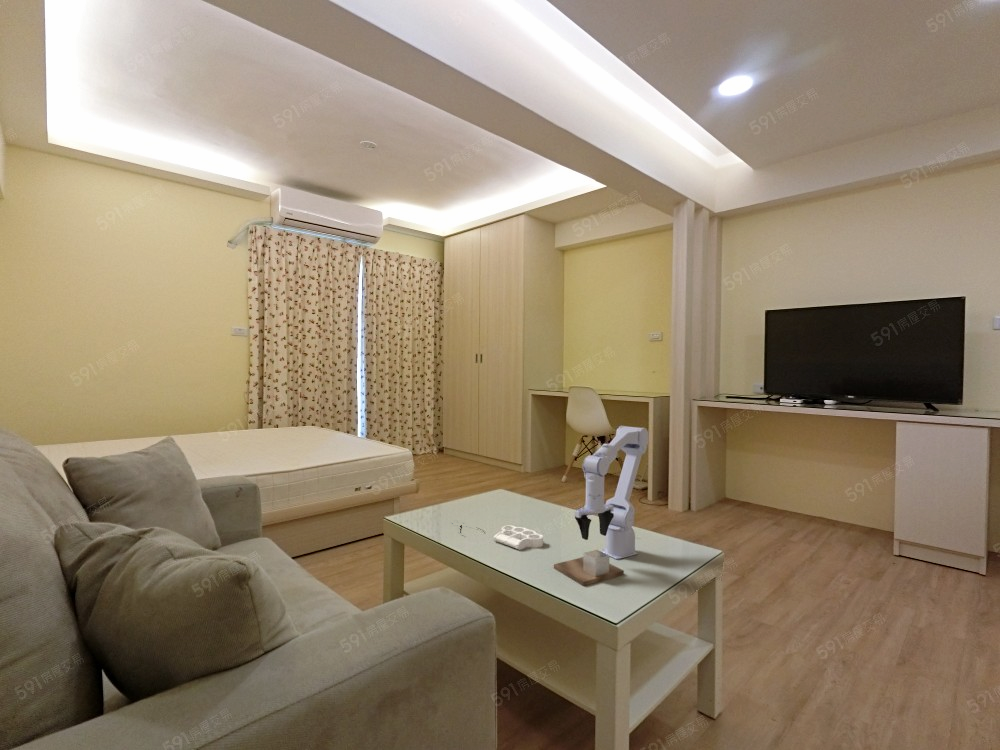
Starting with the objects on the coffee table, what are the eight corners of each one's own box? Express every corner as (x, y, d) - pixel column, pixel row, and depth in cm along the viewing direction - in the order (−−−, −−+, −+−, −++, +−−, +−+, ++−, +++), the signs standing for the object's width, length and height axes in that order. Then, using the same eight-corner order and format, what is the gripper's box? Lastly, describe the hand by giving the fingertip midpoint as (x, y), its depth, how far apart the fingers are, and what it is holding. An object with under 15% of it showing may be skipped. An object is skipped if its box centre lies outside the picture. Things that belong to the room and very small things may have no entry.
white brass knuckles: (487, 540, 171) (514, 531, 182) (524, 554, 159) (551, 543, 169) (487, 531, 171) (514, 522, 182) (524, 544, 159) (551, 534, 169)
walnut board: (592, 558, 155) (592, 542, 155) (623, 574, 143) (623, 557, 143) (553, 568, 147) (554, 551, 147) (583, 586, 135) (583, 568, 135)
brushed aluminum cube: (596, 566, 146) (596, 549, 146) (609, 573, 141) (609, 555, 141) (583, 570, 143) (583, 552, 143) (595, 577, 138) (595, 559, 138)
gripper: (603, 488, 156) (602, 529, 156) (568, 493, 148) (568, 536, 149) (618, 493, 150) (617, 535, 150) (583, 499, 142) (582, 543, 142)
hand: (594, 536), depth 149 cm, fingers open, 7 cm apart
